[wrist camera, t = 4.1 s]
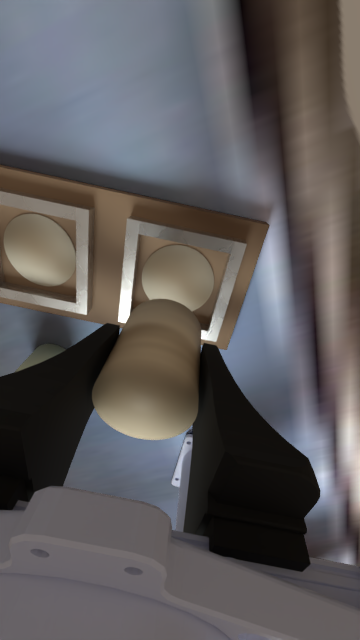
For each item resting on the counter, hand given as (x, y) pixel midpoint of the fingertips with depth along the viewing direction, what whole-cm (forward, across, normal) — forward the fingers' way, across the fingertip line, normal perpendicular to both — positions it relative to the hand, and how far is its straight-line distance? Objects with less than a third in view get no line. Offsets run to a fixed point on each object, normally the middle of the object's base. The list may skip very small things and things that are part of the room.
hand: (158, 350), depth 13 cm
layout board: (+9, +5, 0) cm, 10 cm away
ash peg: (+2, 0, 0) cm, 2 cm away
